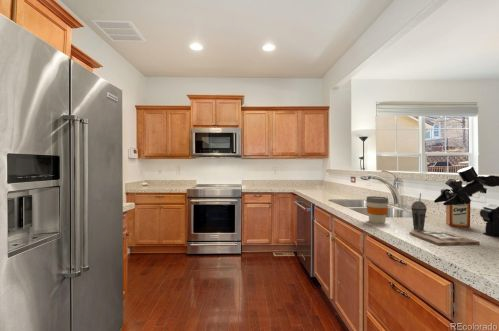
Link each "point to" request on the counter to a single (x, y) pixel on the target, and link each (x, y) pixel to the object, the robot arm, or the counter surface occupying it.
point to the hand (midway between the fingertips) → (438, 203)
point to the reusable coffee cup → (377, 208)
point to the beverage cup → (418, 214)
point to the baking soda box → (458, 215)
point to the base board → (444, 238)
